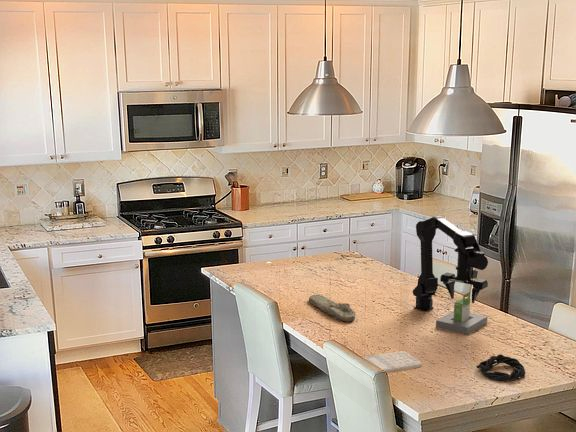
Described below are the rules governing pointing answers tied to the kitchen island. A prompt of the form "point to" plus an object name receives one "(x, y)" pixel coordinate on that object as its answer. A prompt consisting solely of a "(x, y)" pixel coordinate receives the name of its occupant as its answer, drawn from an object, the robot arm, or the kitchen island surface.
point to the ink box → (462, 309)
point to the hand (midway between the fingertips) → (462, 301)
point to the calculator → (394, 361)
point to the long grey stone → (333, 308)
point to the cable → (495, 375)
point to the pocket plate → (459, 327)
